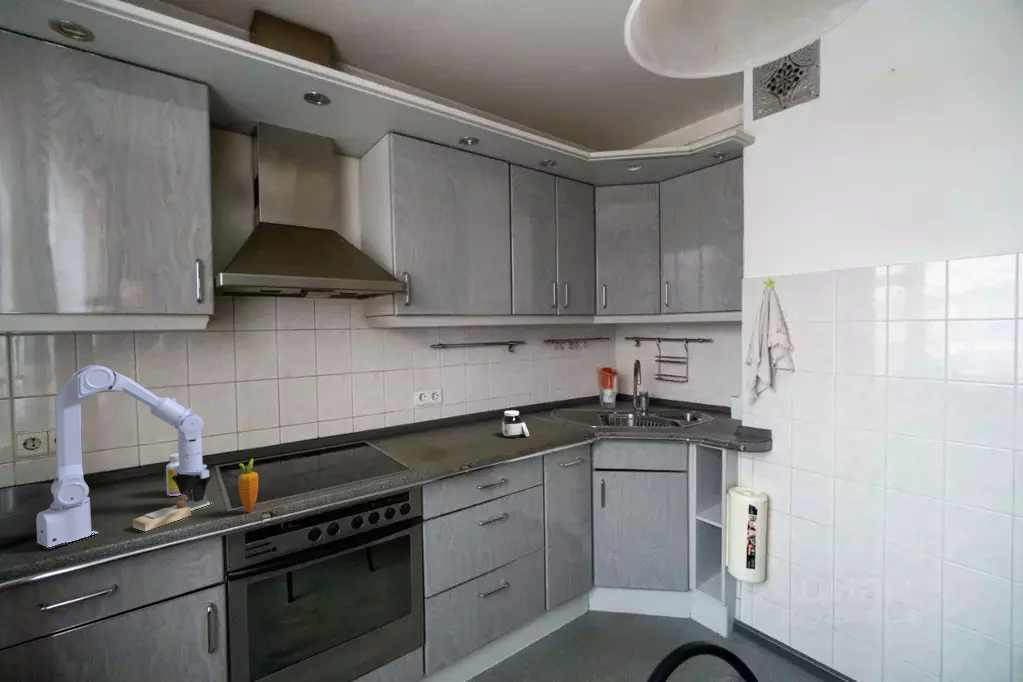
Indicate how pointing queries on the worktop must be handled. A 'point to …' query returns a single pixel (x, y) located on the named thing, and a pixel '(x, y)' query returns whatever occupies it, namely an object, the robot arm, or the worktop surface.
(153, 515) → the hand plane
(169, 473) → the supplement bottle
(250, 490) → the carrot
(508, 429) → the spread jar
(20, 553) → the worktop surface
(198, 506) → the sage mat
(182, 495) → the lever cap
